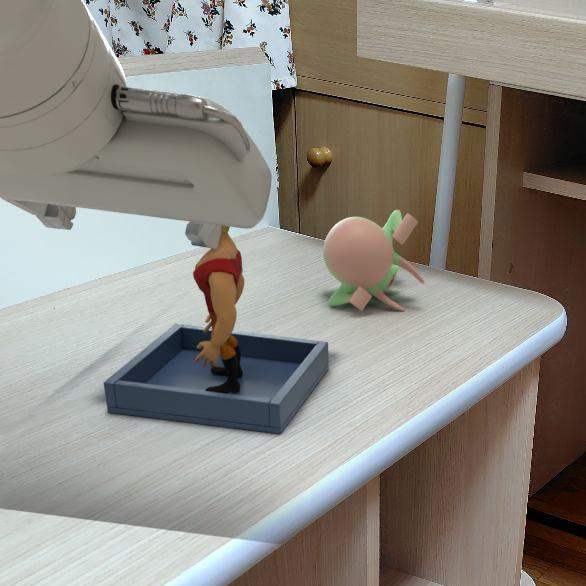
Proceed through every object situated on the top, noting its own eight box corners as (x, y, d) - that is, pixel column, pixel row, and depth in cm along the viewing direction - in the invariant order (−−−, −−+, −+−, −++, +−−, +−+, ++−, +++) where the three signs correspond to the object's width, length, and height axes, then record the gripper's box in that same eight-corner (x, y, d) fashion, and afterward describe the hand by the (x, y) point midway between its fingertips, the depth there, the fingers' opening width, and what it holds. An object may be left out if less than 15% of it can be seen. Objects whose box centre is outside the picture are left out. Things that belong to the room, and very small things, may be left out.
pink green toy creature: (453, 251, 101) (422, 237, 108) (379, 186, 95) (351, 176, 102) (383, 346, 101) (356, 326, 109) (305, 287, 95) (283, 270, 103)
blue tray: (107, 412, 76) (102, 382, 75) (178, 350, 88) (175, 323, 86) (280, 434, 76) (279, 404, 74) (328, 368, 87) (328, 341, 86)
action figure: (208, 361, 85) (192, 180, 77) (251, 362, 86) (240, 183, 78) (195, 407, 77) (176, 211, 69) (243, 408, 78) (229, 214, 70)
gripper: (244, 51, 50) (305, 204, 63) (-151, 3, 50) (-6, 165, 64) (217, 160, 48) (286, 294, 62) (-189, 110, 49) (-32, 253, 62)
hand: (135, 228), depth 63 cm, fingers open, 8 cm apart
